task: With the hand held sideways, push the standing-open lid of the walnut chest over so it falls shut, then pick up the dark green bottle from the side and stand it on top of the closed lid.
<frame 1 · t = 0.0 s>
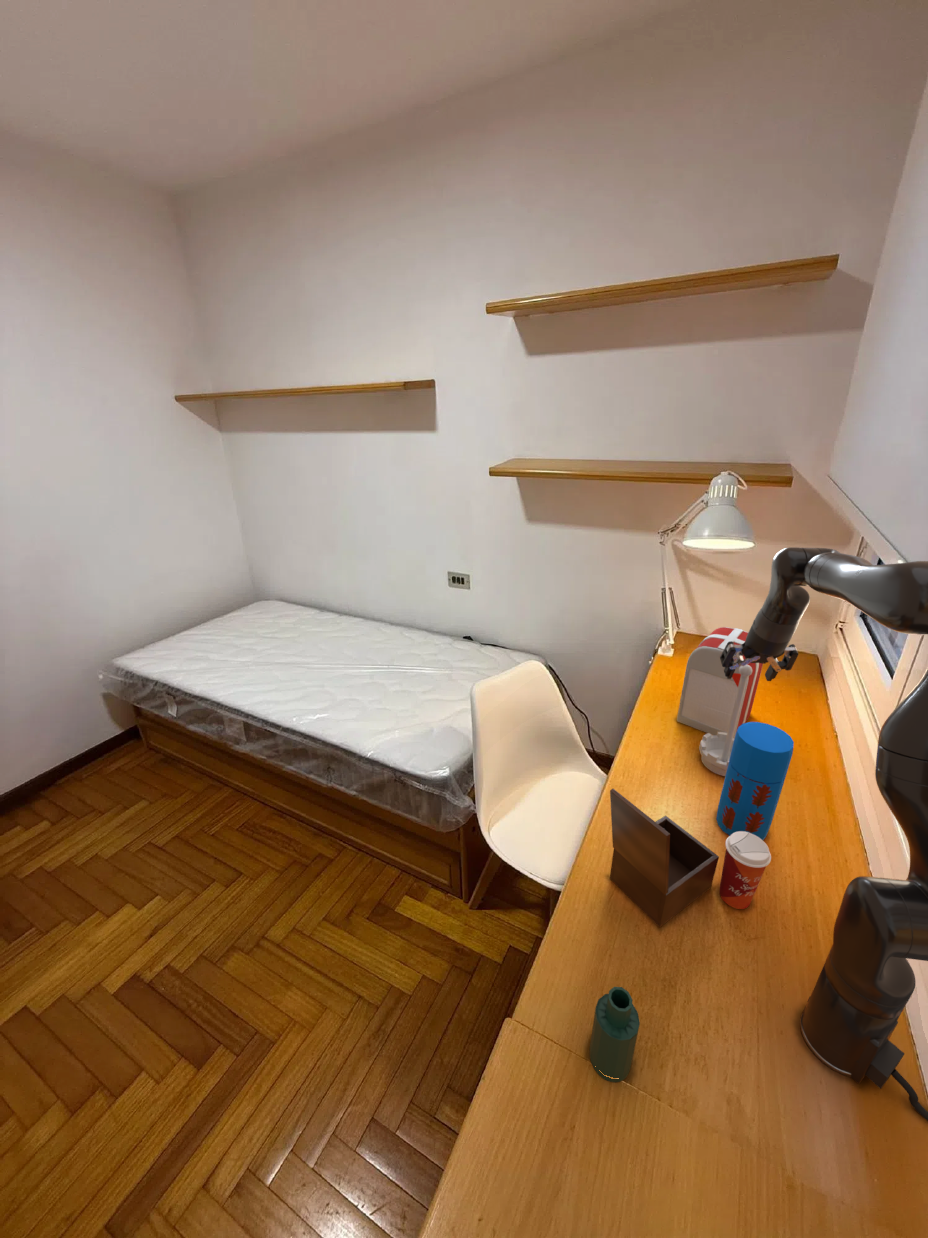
hand: (747, 677, 118), 31 cm above the table, tool tilted 20°, fingers open, 8 cm apart
chest: (659, 883, 106), on the table
lid: (638, 841, 94), point 17 cm above the table, hinge at 100.4°
bottle: (609, 1058, 78), on the table
thermos: (740, 825, 119), on the table
toy mailbox: (713, 718, 157), on the table
flag stand: (723, 763, 138), on the table
paper cup: (734, 897, 103), on the table
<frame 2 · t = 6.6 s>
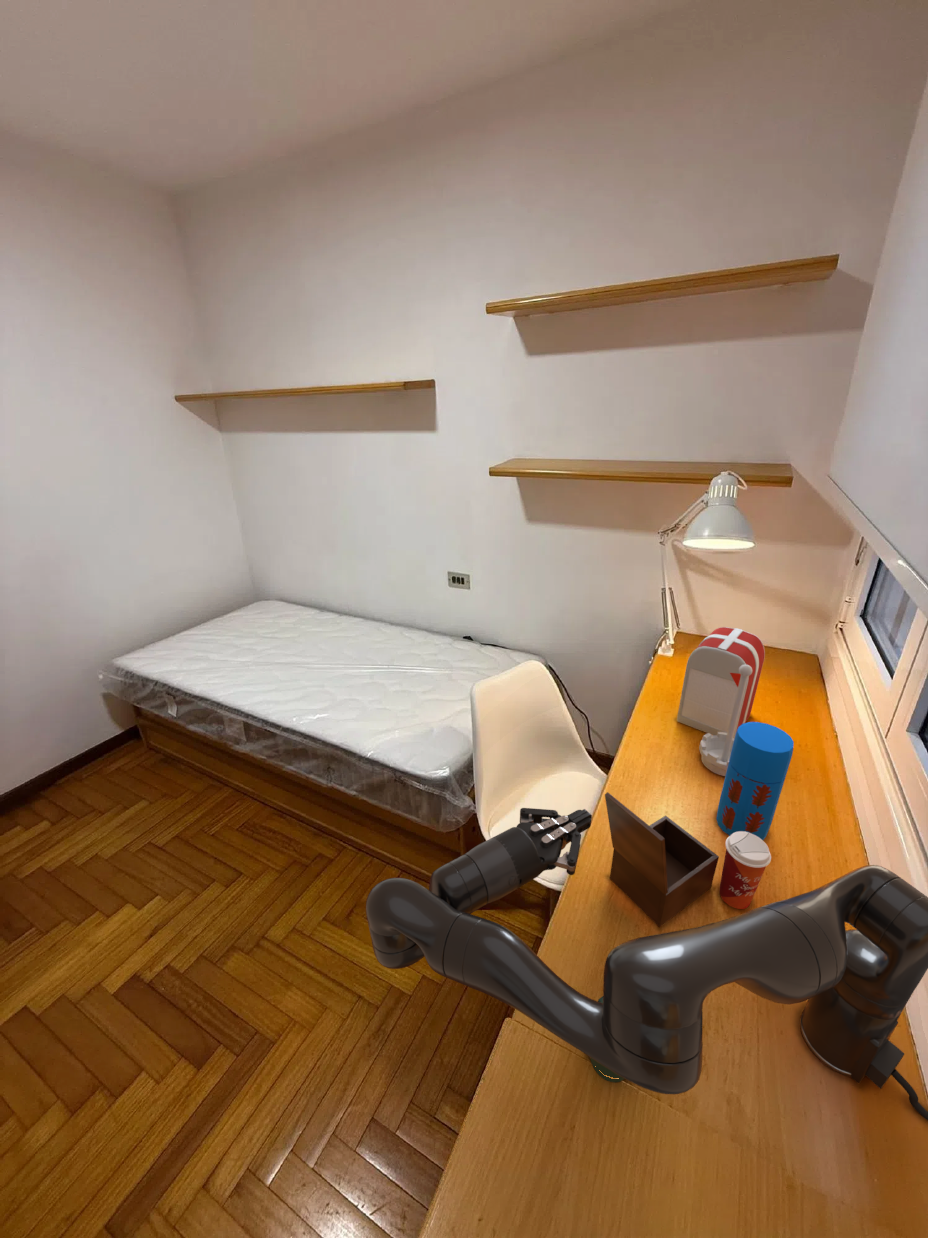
hand: (588, 816, 83), 30 cm above the table, tool horizontal, fingers closed
lid: (636, 843, 94), point 17 cm above the table, hinge at 105.1°
everything else where it was.
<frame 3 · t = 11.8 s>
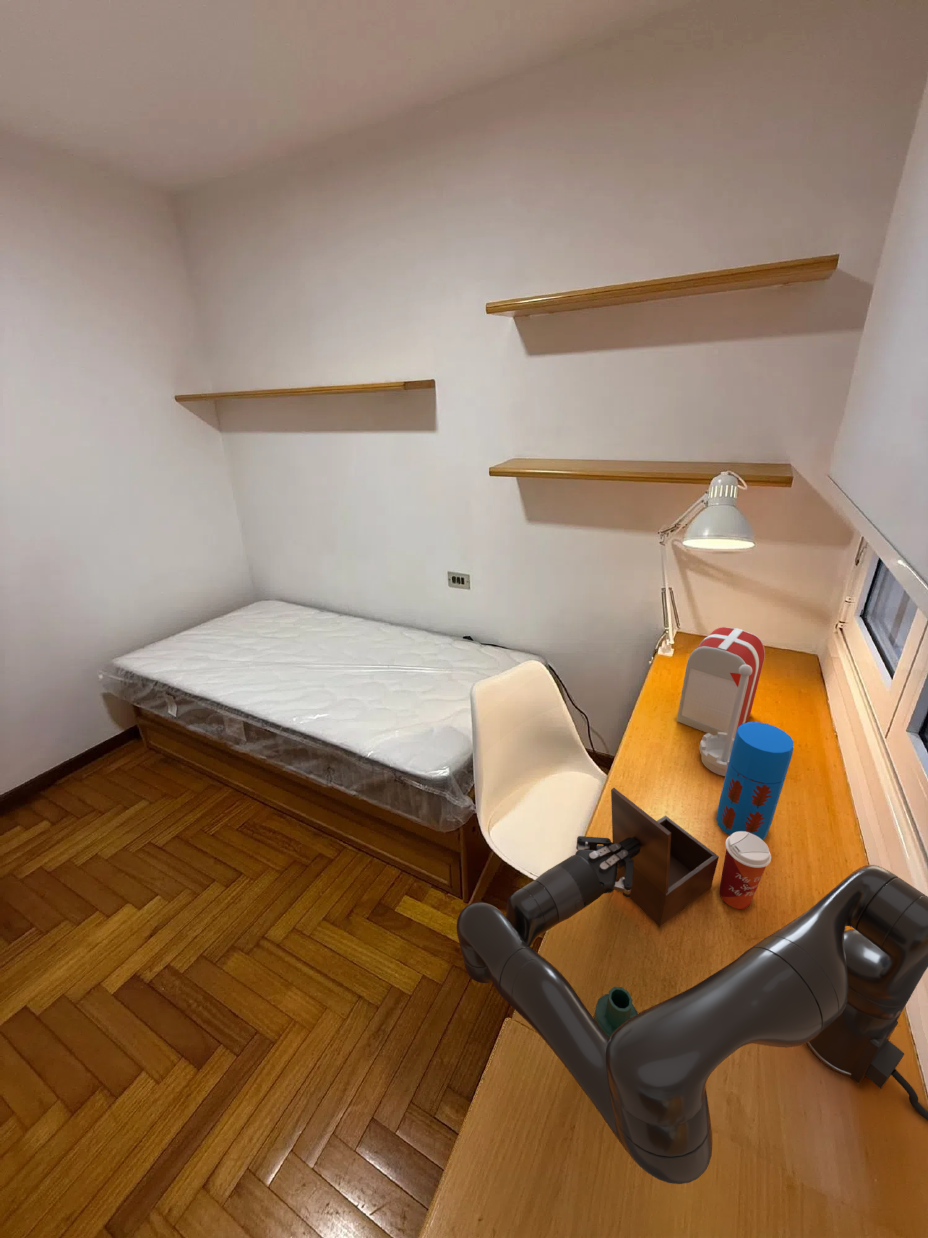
hand: (637, 843, 94), 17 cm above the table, tool horizontal, fingers closed
lid: (639, 840, 94), point 17 cm above the table, hinge at 99.5°, touching gripper
everything else where it was.
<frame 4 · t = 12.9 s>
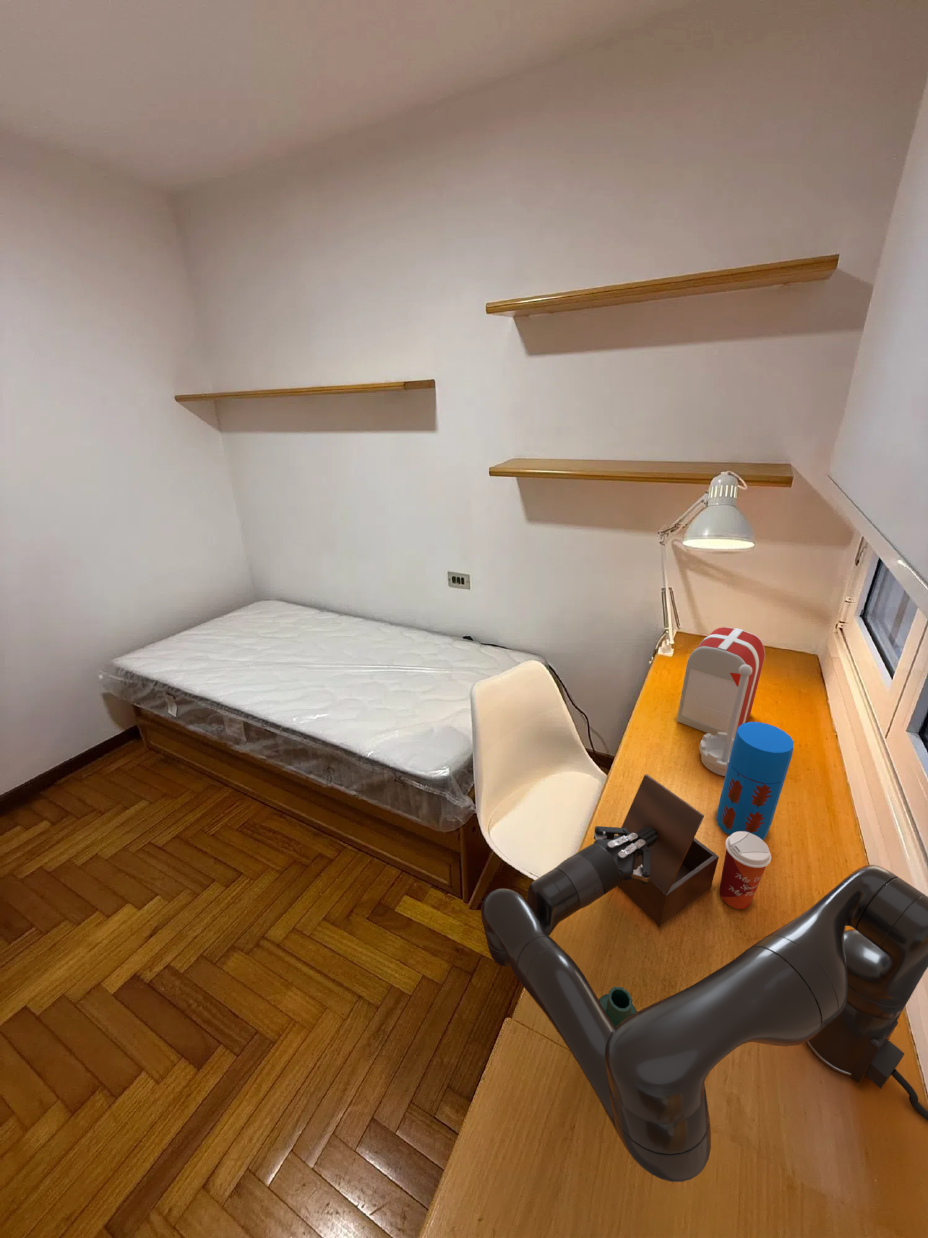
hand: (653, 833, 96), 17 cm above the table, tool horizontal, fingers closed
lid: (655, 832, 96), point 17 cm above the table, hinge at 66.8°
everything else where it was.
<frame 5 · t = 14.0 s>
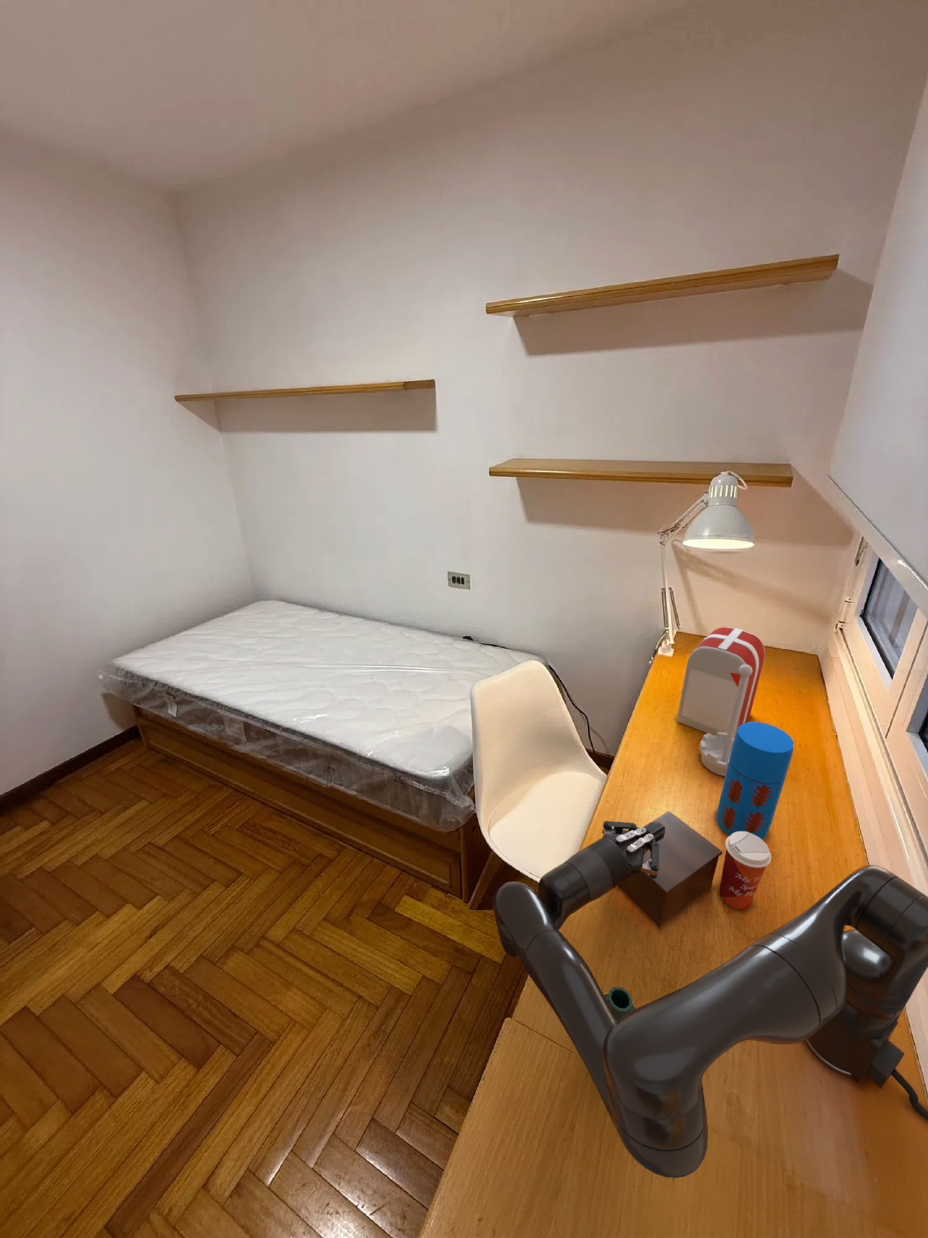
hand: (661, 827, 97), 17 cm above the table, tool horizontal, fingers closed
lid: (667, 849, 102), point 9 cm above the table, hinge at -0.1°
everything else where it was.
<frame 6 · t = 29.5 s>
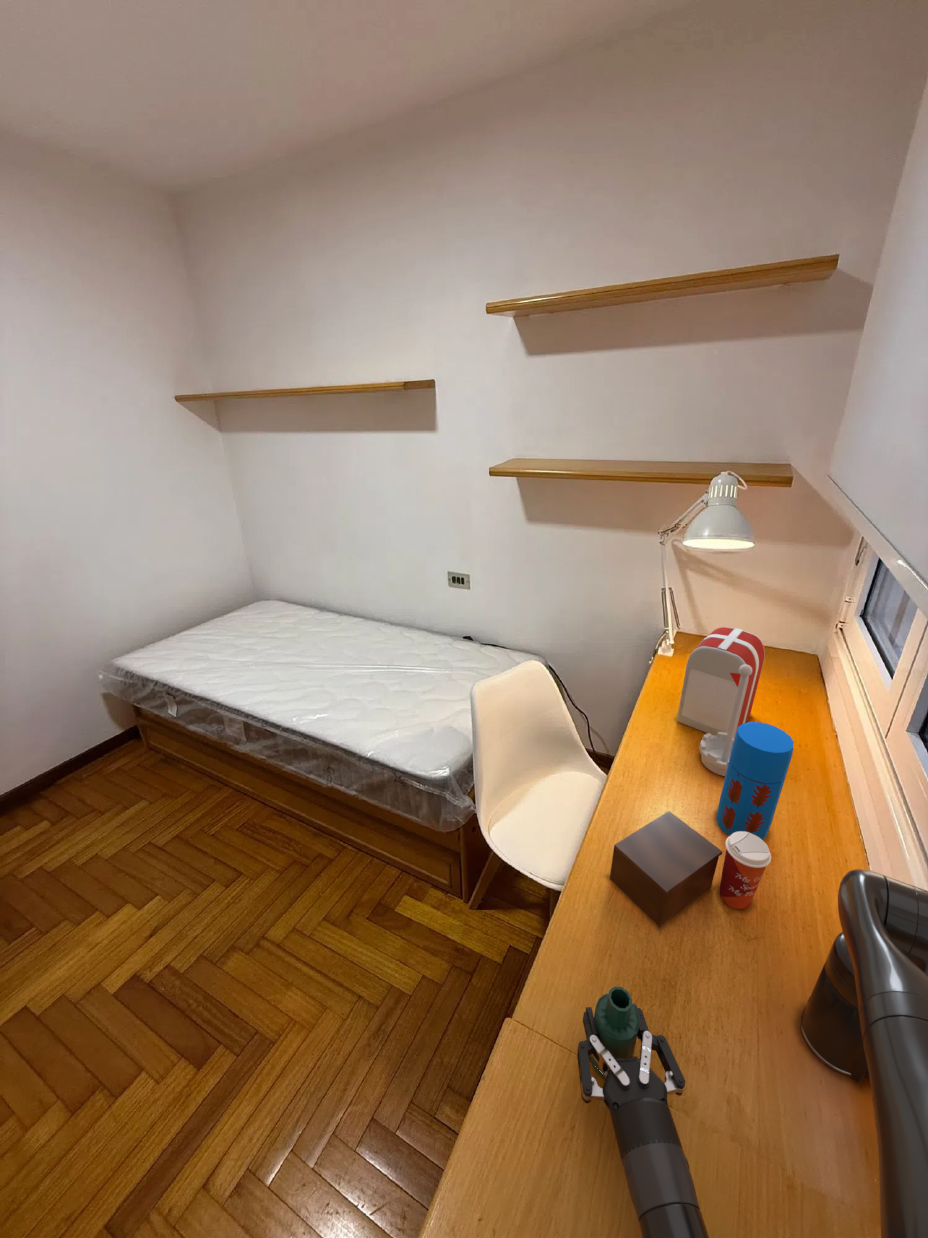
hand: (610, 1008, 77), 8 cm above the table, tool horizontal, fingers closed on bottle, 6 cm apart
bottle: (609, 1058, 78), on the table, touching gripper
everything else where it was.
when the fingers open (18 cm above the table, at t = 41.9 s): bottle stays where it is, resting on lid.
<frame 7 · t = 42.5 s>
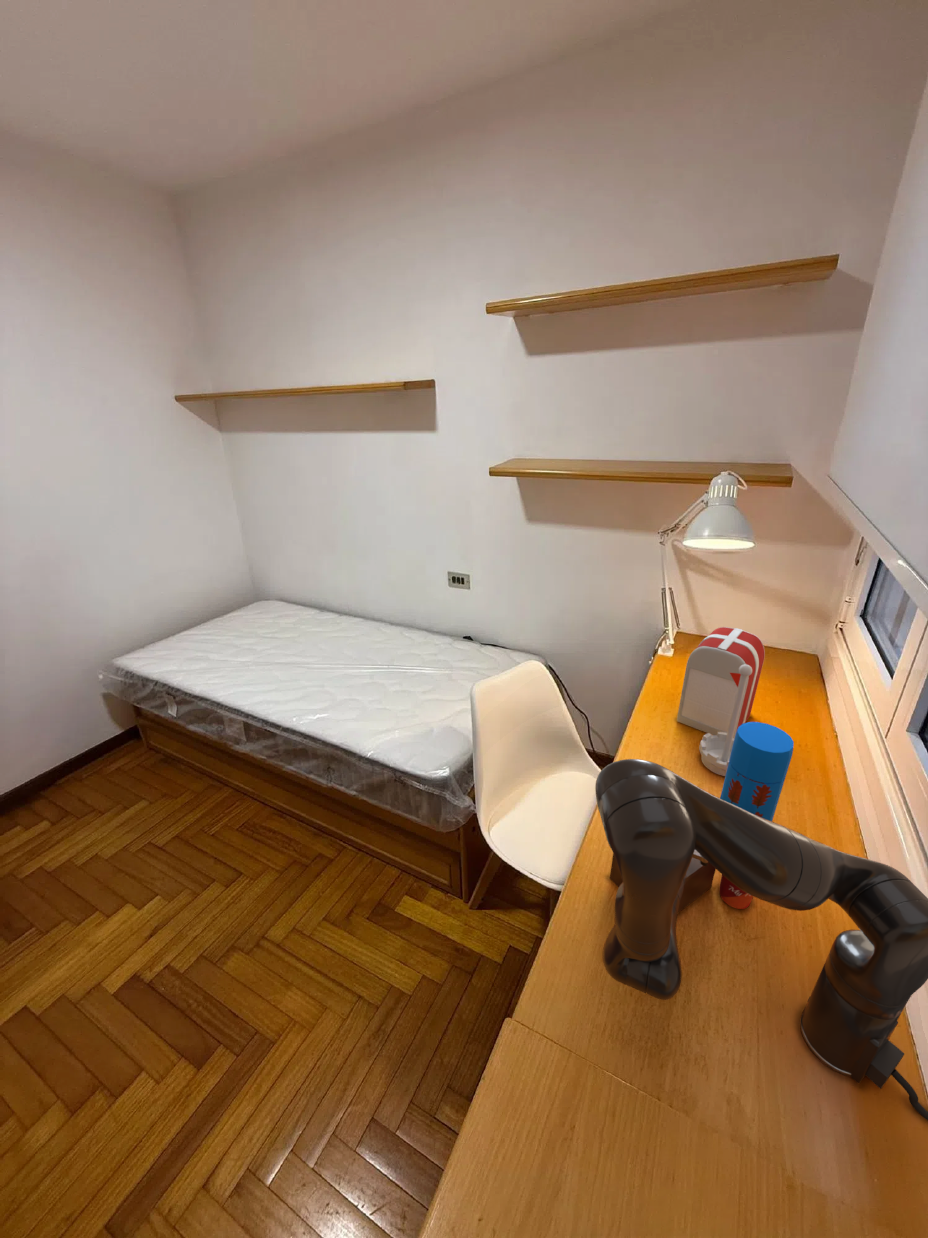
hand: (674, 808, 99), 19 cm above the table, tool horizontal, fingers open, 8 cm apart
lid: (667, 849, 102), point 9 cm above the table, hinge at -0.2°, touching bottle, chest
bottle: (665, 849, 102), point 10 cm above the table, touching lid
everything else where it was.
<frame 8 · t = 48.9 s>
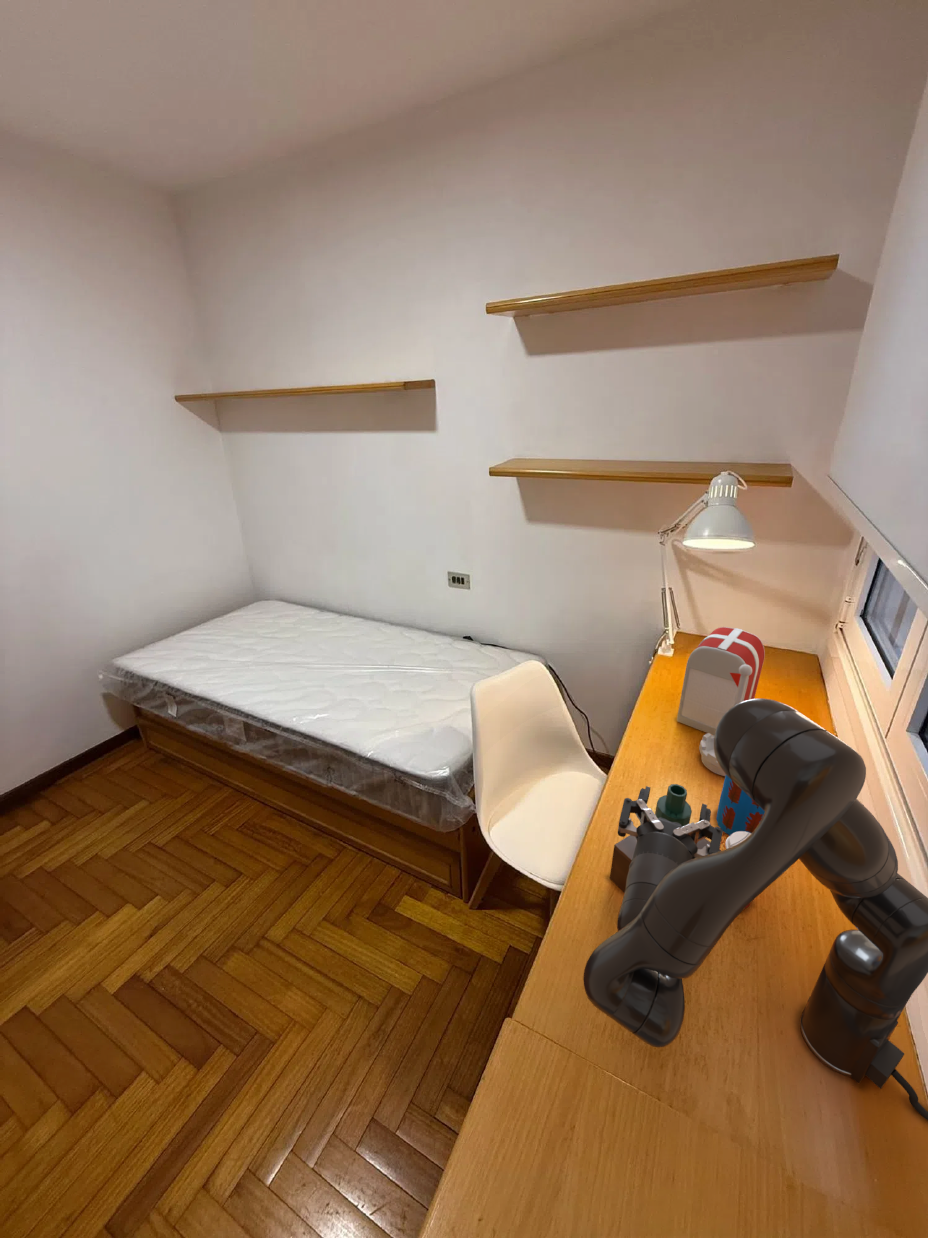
hand: (675, 799, 83), 32 cm above the table, tool horizontal, fingers open, 8 cm apart
nothing on the table moved.
at the end: lid at +0° (first picture: +100°); bottle inside the target area on the chest (0.1 cm from its centre), point 9.6 cm above the chest's base; bottle tilted 0° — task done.
